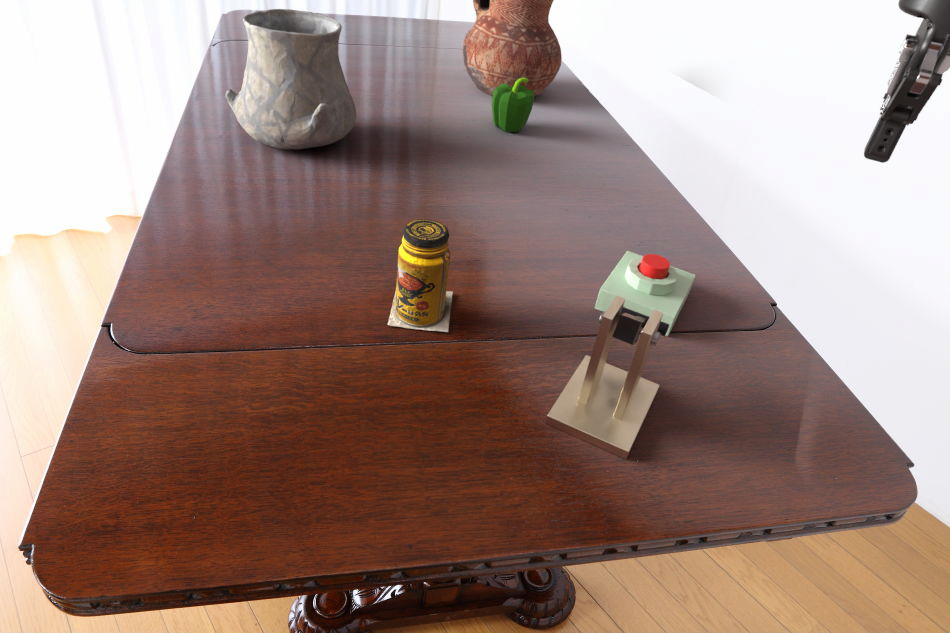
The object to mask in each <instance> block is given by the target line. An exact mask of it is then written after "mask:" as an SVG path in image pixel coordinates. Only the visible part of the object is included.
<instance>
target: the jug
mask: <svg viewBox="0 0 950 633" xmlns="http://www.w3.org/2000/svg"><path fill="white" fill-rule="evenodd" d="M554 1H555V0H472V5H473V8H474V11H475V17H476V19H475V21H474V24H473V26H472V27H471V28H470V29H469V30H468V31H467V33H466V34H465V36H464V38H463V43H462V52H461V53H462V57H463V58H462V60H463V64H464V65H463V66H464V69H465V70H466V72H467V74H468V76H469V78H470V79H471V81H472V82H473V84H475V86H476V88H478V89H479V90H480V91H481V92H483V93H484V94H488V95H490V96H493V92H494V90H495V89H496V88H497V87H498V86H499V85H500V84H502V83H503V84H507V85H508V86H510V87H513V86H514V84H515V82H516V81H517V80H518V79H520V78H524V77H525V78H528V79H529V81H528V82H527V83H524V82H523V83H521V84H520V85H524V86H525V87H526V88H527V89H529V90H533V93H534V97H536V96H539V95H540V94H541V93H543V92H544V91H545V90H546V89H547V88H548V87H549V86H550V85H551V83H553V81H554V80H555V78H556V76H557V75H558V73H559V71H560V69H561V66H562V48H561V45H560V41H559V39H558V37H557V35H556V33H555V31H554V29H553V28H552V27H551V24H550V23H549V20H550V19H549V16H550V11H551V8H552V5H553V3H554Z"/></svg>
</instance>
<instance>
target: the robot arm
mask: <svg viewBox="0 0 950 633" xmlns="http://www.w3.org/2000/svg"><path fill="white" fill-rule="evenodd" d="M898 8H899V10H900V11H902V12H903V13H905V14H907V15H909V16H912V17H915V18H919V19H922V21H921V23H920V25H919V26H918V29H917V30H916V33H915V35H913V34H908V33H907V34H906V35H905V36H904V38H903V40H902V43H901V45H900V47H899V51H898V53H899V56H898V59H897V61H896V64H895V65H894V67H893V69H892V71H891V74H890V76H889V78H888V80H887V91H886V93H885V94H884V95H883V97H882V99H883V101H882V102H883V104H882V103H881V105H880V108H879V110H880V111H879V115H880V116H879V117H878V120H877V122H876V124H875V126H874V127H873V130H872V132H871V134H870V136H869V139H868V140H867V142H866V145H865V147H864V151H863V156H864V158H865V159H866V160H871V161H874V162H878V163H883V164H884V163H887V162H888V161H889V160H890V159H891V157H892V156H893V155H892V154H893V153H894V151H895V149H896V147H897V145H898V143H899V141H900V139H901V137H902V135H903V133H904V131H905V129H906V127H907V126H910V125H913V124H914V122H915V121H917V119H918V118H919V115H920V113H921V112H922V110H923V109H924V108H925V106H926V104H927V103H928V101H929V100H930V99H931V97H932V95H934V93H935V91H936V90H937V88H938V87H939V86H941V84H942V82H943V74H944V73H946V72H947V71H948V70H950V0H898Z"/></svg>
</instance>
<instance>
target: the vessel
mask: <svg viewBox="0 0 950 633" xmlns="http://www.w3.org/2000/svg"><path fill="white" fill-rule="evenodd" d="M242 21H243V24H244V27H245V30H246V34H247V55H246V56H247V57H246V64H245V68H244V71H243V72H244V73H243V78H242V85H241V88H240V91H239V92H238V93H236V92H235V91H234V90H232V89H231V88H230V89H227V90H226V91H225V95H224V97H225V99H226V102H227V103H228V104H229V106H230V108H231V110H232V111H233V113H234V115H235V117H236V118H235V119H236V120H237V122H238V123H239V125H240V126H241V127H242V129H243V130H244V131H245V132H246V133H247V134H248V135H249V136H250V137H251V138H252V139H254V141H256V142H259V143H261V144H262V145H265V146H268V147H272V148H274V149H278V150H303V149H311V148H318V147H319V148H320V147H325V146H327V145H331V144H335V143H337V142H338V141H340V140H342V139H344V138H345V137H346V136H347V135H348V134H349V133H350V132H351V130H352V129H353V128H354V125H355V124H356V120H357V108H356V105H355V101H354V99H353V96H352V94H351V92H350V88H349V85H348V83H347V81H346V77H345V74H344V70H343V68H342V64H341V61H340V57H339V55H340V54H339V45H340V44H339V42H340V36H341V32H342V28H343V26H342V24H341V23H340V22H339V21H338V20H336V19H334V18H331V17H329V16H327V15H324V14H321V13H317V12H312V11H305V10H297V9H291V8H289V9H287V8H271V9H266V10H257V11H254V12H251V13H247V14H246V15H245V16H244V17H243V20H242Z"/></svg>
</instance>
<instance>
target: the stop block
mask: <svg viewBox="0 0 950 633" xmlns="http://www.w3.org/2000/svg"><path fill="white" fill-rule="evenodd" d="M644 256H645V255H640V254H638V253H635V252H632V251H629V250H626V252H625V253H624V255H623V256H622V258H621V259H620V260H619V261H618V263H617V264H616V266H615V267H614V268H613V270H612V271H611V273H610V274H609V275H608V277H607V278H606V280H605V281H604V283H603V284H602V285H601V287H600V288H599V291H598V294H597V298H596V302H595V305H594V310H597V311H600V312H601V313H602V312H603V311H604V312H606V310H607V309H608V307H609V306H610V304H611V303H612V301H613V300H614V298H615V297H616V295H617V296H620V297H623V298H625V302H624V305H623V307H625V308H628V309H630V310H633V311H636V312H638V313H641V314H643V315H646V316H649V317H650V316H651V314H652V312H653V310H657V311H660V312H662V313H663V316H662V319H661V321H662V322H664V323H667V324H669V328H668V330H667V333H666V335H665V336H664V337H669V335H670V333H671V331H672V329H673V327H674V326H675V324H676V321H677V319H678V317H679V316H680V313H681V311H682V310H683V307H684V305H685V304H686V301H687V299H688V297H689V295H690V291H691V289H692V287H693V284H694V281H695V280H696V274H695V273H692V272H690V271H686V270H683V269H680V268H677V267H675V266H672V265H671V264H670V267H669V270H668V272H667V275H666V277H665V278H664V279H662V280H661V279H652V278H649V277H647V276H644V275H643V274H642V273H640V271H639V268H640V265H641V261H642V258H643V257H644Z"/></svg>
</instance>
